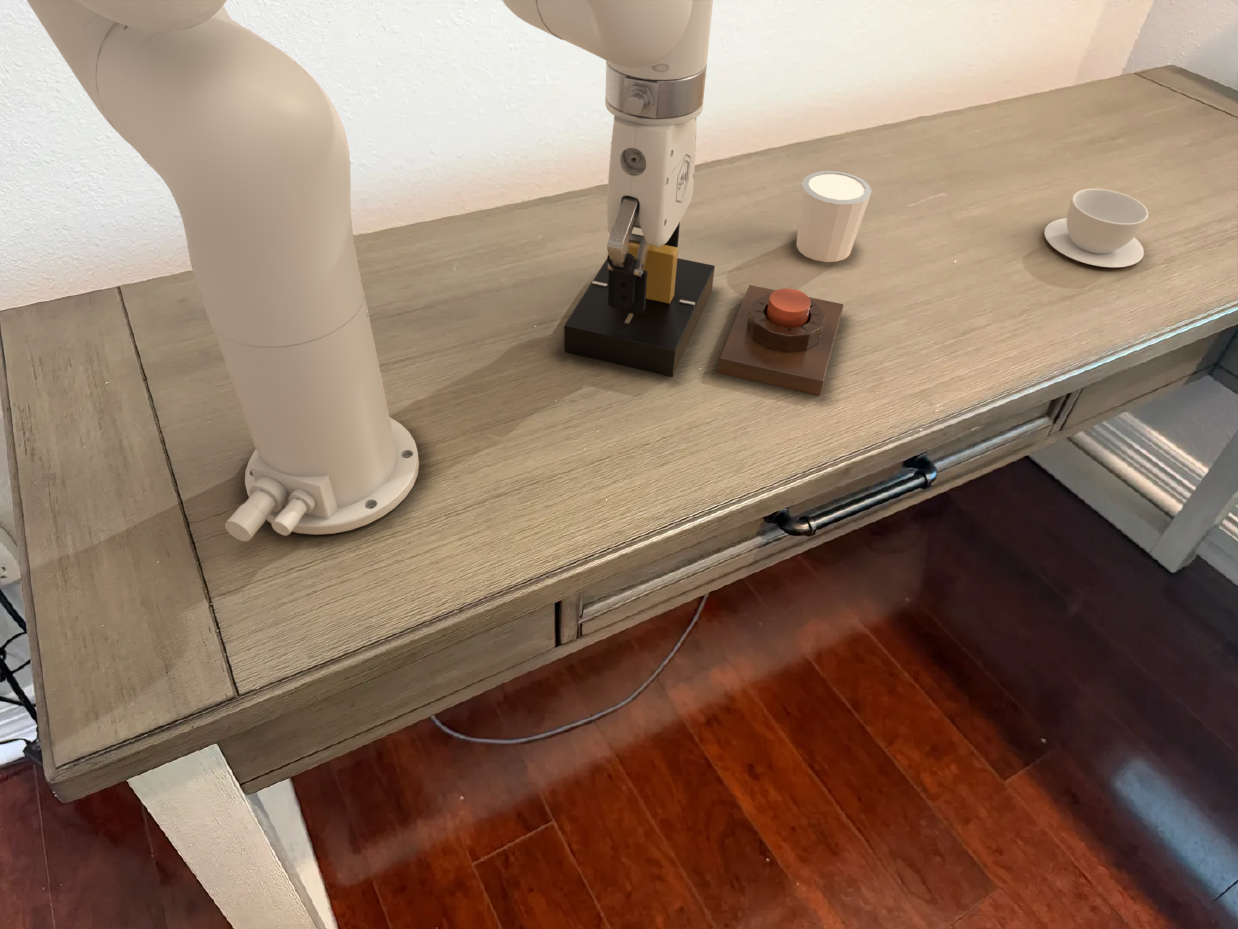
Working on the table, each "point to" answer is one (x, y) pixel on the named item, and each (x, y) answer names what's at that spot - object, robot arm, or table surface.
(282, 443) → the robot arm
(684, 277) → the plate
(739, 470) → the table surface
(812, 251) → the beige cup
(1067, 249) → the teacup
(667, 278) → the yellow flat block
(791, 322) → the button
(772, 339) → the button block
